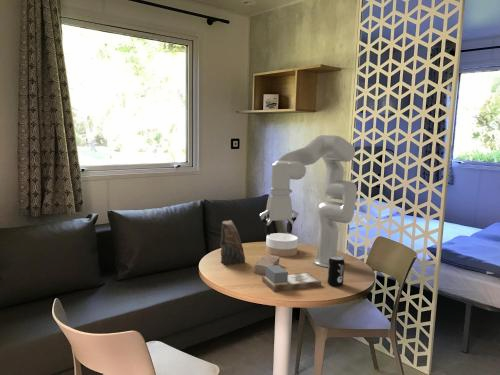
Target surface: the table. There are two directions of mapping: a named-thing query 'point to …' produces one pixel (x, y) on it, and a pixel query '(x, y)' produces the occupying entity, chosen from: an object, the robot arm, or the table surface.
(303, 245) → the table surface
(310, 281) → the board
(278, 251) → the bowl
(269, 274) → the block
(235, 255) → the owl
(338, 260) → the beverage can
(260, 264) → the brick
